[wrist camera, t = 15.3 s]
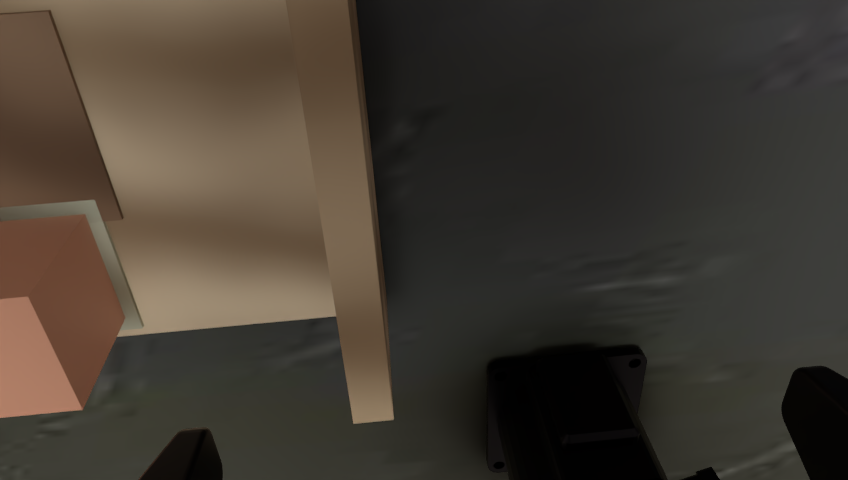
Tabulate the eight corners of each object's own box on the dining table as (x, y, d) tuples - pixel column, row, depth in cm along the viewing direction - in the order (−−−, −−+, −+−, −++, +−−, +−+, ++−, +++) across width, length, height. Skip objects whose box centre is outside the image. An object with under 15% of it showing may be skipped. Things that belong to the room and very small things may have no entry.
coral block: (125, 318, 23) (82, 409, 19) (1, 329, 22) (-65, 424, 19) (84, 214, 20) (28, 296, 17) (-54, 226, 20) (-141, 311, 17)
